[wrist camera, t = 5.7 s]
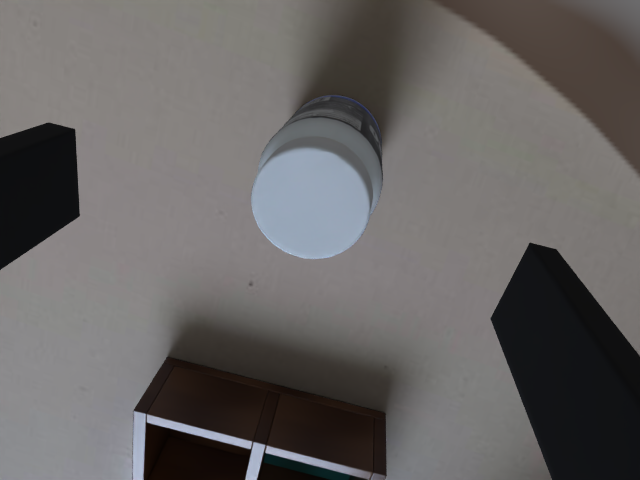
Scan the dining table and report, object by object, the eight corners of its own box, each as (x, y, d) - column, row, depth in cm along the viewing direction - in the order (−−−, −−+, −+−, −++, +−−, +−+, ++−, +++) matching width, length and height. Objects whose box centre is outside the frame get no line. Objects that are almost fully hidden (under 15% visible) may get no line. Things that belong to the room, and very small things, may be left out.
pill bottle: (373, 193, 22) (370, 280, 15) (284, 180, 23) (237, 260, 15) (389, 99, 20) (395, 146, 13) (290, 86, 21) (239, 124, 13)
